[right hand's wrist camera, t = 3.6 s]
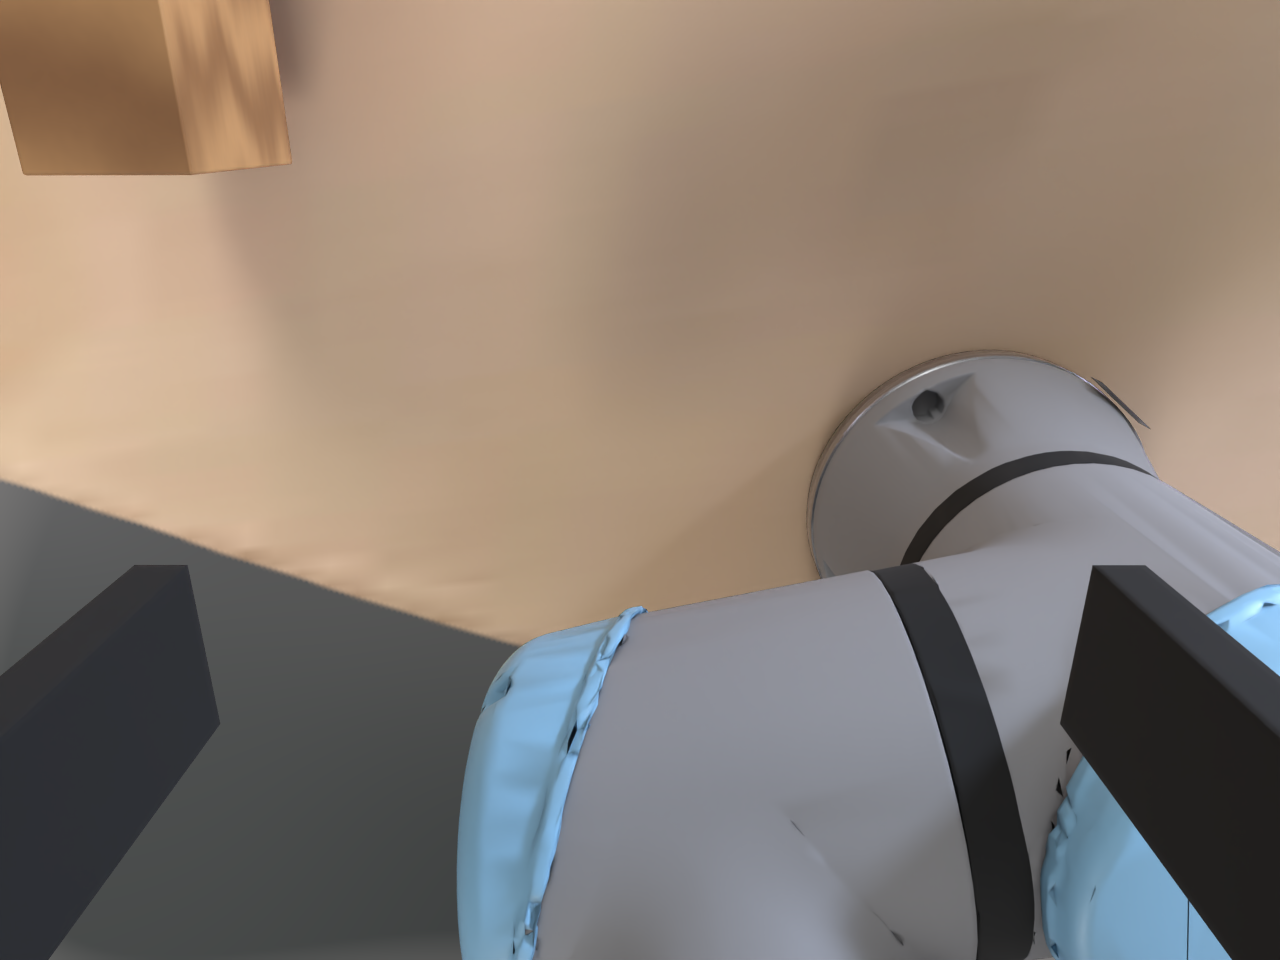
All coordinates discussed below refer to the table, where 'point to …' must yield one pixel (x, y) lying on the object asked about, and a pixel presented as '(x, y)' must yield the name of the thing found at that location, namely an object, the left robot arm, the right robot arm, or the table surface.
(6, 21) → the bar
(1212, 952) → the right robot arm
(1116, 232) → the table surface
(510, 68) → the table surface
